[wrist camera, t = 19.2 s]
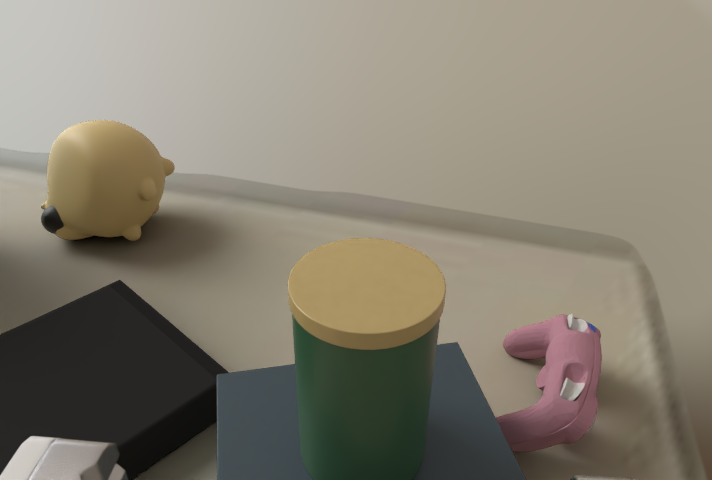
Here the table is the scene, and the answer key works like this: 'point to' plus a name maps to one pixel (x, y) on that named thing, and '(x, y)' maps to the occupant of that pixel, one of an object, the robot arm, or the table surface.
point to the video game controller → (556, 383)
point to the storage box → (282, 440)
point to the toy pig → (102, 181)
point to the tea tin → (364, 357)
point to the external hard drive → (105, 379)
